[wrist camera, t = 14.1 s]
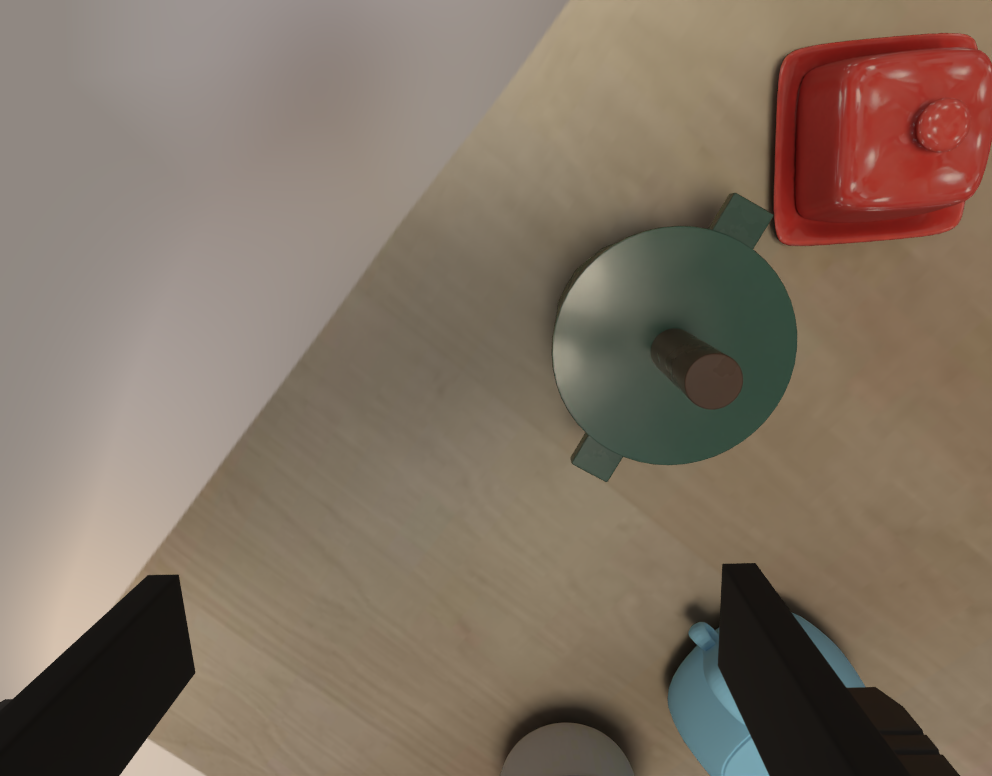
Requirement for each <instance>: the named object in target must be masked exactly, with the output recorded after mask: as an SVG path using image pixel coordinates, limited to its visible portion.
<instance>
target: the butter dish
mask: <svg viewBox="0 0 992 776" xmlns="http://www.w3.org/2000/svg"><path fill="white" fill-rule="evenodd" d="M991 142H992V63H991V61H990V59H989V58H988V56H987V55H986V54H985V53H983V52H982V51H980V50H978V48H977V45H976V42H975V40H974V39H973V38H971V37H970V36H968V35H966V34H958V33H952V34H949V33H938V34H921V35H908V36H893V37H883V38H871V39H863V40H852V41H844V42H835V43H828V44H820V45H815V46H810V47H805V48H801V49H798V50H795V51H793V52H791V53H790V54H788V55H787V56H786V57H785V58H784V60H783V62H782V65H781V68H780V72H779V80H778V93H777V114H776V143H775V173H774V176H775V178H774V209H773V211H774V221H775V230H776V234H777V237H778V239H779V241H780V242H782V243H783V244H786V245H789V246H814V245H830V244H843V243H855V242H871V241H882V240H894V239H903V238H913V237H922V236H929V235H934V234H940V233H943V232H947V231H949V230H951V229H953V228H954V227H955V226H956V225H958V223H959V222H960V220H961V217H962V214H963V210H964V205H965V201H966V200H967V199H969V198H970V197H971V196H972V195H973V194H974V193H975V191H976V190H977V188H978V187H979V185H980V183H981V180H982V177H983V174H984V171H985V168H986V164H987V160H988V156H989V152H990V147H991Z"/></svg>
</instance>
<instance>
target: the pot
mask: <svg viewBox="0 0 992 776" xmlns="http://www.w3.org/2000/svg"><path fill="white" fill-rule="evenodd" d="M773 216H774V215H773V214H772V213H770V212H768V211H766V210H765V209H763V208H761V207H759V206H758V205H756V204H754V203H753V202H751V201H749V200H747V199H746V198H744V197H742V196H740V195H739V194H737V193H732V194H729V195H728V197H727V199H726V200H725V202H724V204H723V205H722V207H721V209H720V210H719V212H718V214H717V215H716V217H715V219H714V220H713V222H712V224H711V225H710V227H709V229H711V230H714V231H717V232H720V233H724V234H726V235H729V236H731V237H733V238H735V239H737V240H739V241H741V242H742V243H744V244H745V245H747V246H748V247H750V248H751V249H753V248H754V247H755V245H756V243H757V242H758V240H759V239H760V237H761V235H762V234H763V232H764V231H765V229H766V227H767V226H768V224H769V223H770V221H771V219H772V218H773ZM612 245H613V244H612ZM612 245H609V246H606V247H604V248H602V249H601V250H600V251H599V252H597V253H596V254H595V255H593V256H592V257H590V258H589V259H588V260H587V261H586V262H585V263H584V264H583V265H581V266H580V267H579V268H578V269H577V270H576V271H575V272H574V274H573V276H572V278H571V279H570V281H569V282H568V284H567V285H566V288H565V290H564V292H563V294H562V296H561V297H560V299H559V302H558V309H557V314H558V311H559V308H560V306H561V303H562V301H563V299H564V297H565V295H566V293H567V291H568V290H569V288H570V287H571V285H572V283H573V282H574V280H575V279H576V278H577V276H578V275H579V274H580V273H581V272H582V270H583V269H584V268H585V267H586V266H587V265H588V264H589V263H590V262H591V261H592V260H593V259H594V258H596V257H597V256H598V255H599V254H600V253H602V252H603V251H605V250H606V249H607V248H609V247H610V246H612ZM556 317H557V315H556ZM622 458H623V456H621V455H619V454H616V453H614V452H612V451H610V450H608V449H607V448H605V447H604V446H602V445H600V444H599V443H598V442H596V441H595V440H594V439H593V438H591V437H590V436H589V435H588V434H587V433H585V434H584V436H583V438H582V439H581V441H580V443H579V444H578V446H577V448H576V449H575V451H574V453H573V454H572V456H571V463H572V464H573V465H575V466H577V467H579V468H581V469H582V470H584V471H586V472H588V473H590V474H592V475H594V476H596V477H598V478H599V479H601V480H603V481H605V482H608V480H609V478H610V477H611V475H612V474H613V472H614V470H615V469H616V467H617V466H618V464H619V462H620V461H621V459H622Z"/></svg>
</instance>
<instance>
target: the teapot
mask: <svg viewBox="0 0 992 776" xmlns="http://www.w3.org/2000/svg"><path fill="white" fill-rule="evenodd" d="M791 613H792V612H791ZM792 614H793V615H794V617H795V618H796V619H797V621H798V622H799V623H800V625H801V626H802V628H803V629H804V630H805V632H806V633H807V634H808V636H809V637H810V638H811V640H812V641H813V643H814V644H815V645H816V647H817V648H818V649H819V651H820V652H821V653H822V655H823V656H824V658H825V659H826V660H827V662H828V663H829V664H830V666H831V667H832V668H833V670H834V671H835V673H836V674H837V675H838V677H839V678H840V679H841V681H842V682H843V684H844V685H845V686H846V688H852V687H865V685H864V684H863V682H862V680H861V679H860V677H859V675H858V674H857V672H856V671H855V669H854V668H853V666H852V665H851V664H850V662H849V661H848V659H847V658H846V657H845V655H844V654H843V653H842V652H841V650H840V649H839V648H838V647H837V646H836V645H835V644H834V643H833V642H832V641H831V640H830V639H829V638H828V637H827V636H826V635H825V634H824V633H822V632H821V631H820V630H819V629H818V628H816V627H815V626H814V625H812V624H811V623H809V622H808V621H807V620H805V619H804V618H802V617H801V616H799V615H796V614H794V613H792ZM689 636H690V638H691V639H692V640H693V641H694V642H695V643H696V644H697V646H696V647H695V648H694V649H693V650H692V651H691V652H690V653H689V655H688V656H687V657H686V658H685V659H684V661H683V662H682V663H681V665H680V666H679V668H678V669H677V671H676V673H675V674H674V676H673V678H672V681H671V684H670V686H669V691H668V706H669V710H670V713H671V715H672V718H673V721H674V723H675V725H676V727H677V729H678V731H679V733H680V735H681V737H682V738H683V740H684V742H685V743H686V744H687V746H688V747H689V749H690V750H691V752H692V753H693V754H694V756H695V757H696V758H697V760H698V761H699V762H700V764H701V765H702V766H703V767H704V769H705V770H706V771H707V772H708V773H709V774H710V776H769V774H768V772H767V770H766V767H765V765H764V763H763V761H762V759H761V757H760V755H759V753H758V750H757V748H756V746H755V744H754V742H753V740H752V738H751V736H750V733H749V731H748V729H747V727H746V725H745V723H744V721H743V718H742V716H741V714H740V712H739V710H738V708H737V706H736V704H735V701H734V699H733V697H732V695H731V693H730V691H729V689H728V687H727V684H726V682H725V680H724V678H723V676H722V674H721V672H720V669H719V667H718V649H719V628H718V629H716V630H714V629H713V628H712V627H711V626H710V625H708V624H707V623H705V622H698V623H696V624H694V625H692V626H691V628H690V630H689Z"/></svg>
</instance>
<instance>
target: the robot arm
mask: <svg viewBox="0 0 992 776" xmlns="http://www.w3.org/2000/svg"><path fill="white" fill-rule="evenodd" d="M718 667H719V669H720V672H721V674H722V676H723V678H724V680H725V682H726V684H727V687H728V689H729V691H730V693H731V695H732V697H733V699H734V701H735V704H736V706H737V708H738V710H739V712H740V714H741V716H742V718H743V721H744V723H745V725H746V727H747V729H748V731H749V733H750V736H751V738H752V740H753V742H754V744H755V746H756V748H757V750H758V753H759V755H760V757H761V759H762V761H763V763H764V765H765V767H766V770H767V772H768V774H769V776H960V775H959V774H958V773H957V772H956V770H955V769H954V768H953V767H952V765H951V764H950V763H949V762H948V761H947V759H946V758H945V757H944V756H943V755H940V754H939V750H938V748H937V747H936V746H935V745H934V744H933V742H932V741H931V740H930V739H929V738H928V736H927V735H924V734H923V730H922V729H921V728H920V727H919V725H918V724H917V723H916V722H915V721H914V719H913V718H912V717H911V716H910V714H909V713H908V712H907V711H906V710H905V708H904V707H903V706H901V705H900V704H898V703H897V702H896V701H894V700H893V699H891V698H890V697H889V696H887V695H886V694H884V693H883V692H882V691H880V690H879V689H877V688H876V687H852V688H846V686H845V685H844V684H843V682H842V681H841V679H840V678H839V677H838V675H837V674H836V673H835V671H834V670H833V668H832V667H831V666H830V664H829V663H828V662H827V660H826V659H825V658H824V656H823V655H822V653H821V652H820V651H819V649H818V648H817V647H816V645H815V644H814V643H813V641H812V640H811V638H810V637H809V636H808V634H807V633H806V632H805V630H804V629H803V628H802V626H801V625H800V623H799V622H798V621H797V619H796V618H795V617H794V615H793V614H792V613H791V611H790V610H789V608H788V607H787V606H786V604H785V603H784V602H783V600H782V599H781V598H780V596H779V595H778V593H777V592H776V591H775V589H774V588H773V587H772V585H771V584H770V582H769V581H768V580H767V578H766V577H765V576H764V574H763V573H762V572H761V570H760V569H759V567H758V566H757V565H756V563H742V564H722V585H721V606H720V627H719V649H718ZM194 674H195V668H194V662H193V656H192V650H191V644H190V638H189V633H188V627H187V621H186V615H185V609H184V603H183V597H182V592H181V586H180V580H179V575H148V576H147V577H146V578H144V579H143V580H142V581H141V582H140V583H139V584H138V585H137V586H136V587H135V588H134V589H132V590H131V591H130V592H129V593H128V594H127V595H126V596H125V597H124V598H123V599H122V600H120V601H119V602H118V603H117V604H116V605H115V606H114V607H113V608H112V609H111V610H110V611H109V612H107V613H106V614H105V615H104V616H103V617H102V618H101V619H100V620H99V621H98V622H97V623H95V624H94V625H93V626H92V627H91V628H90V629H89V630H88V631H87V632H86V633H84V634H83V635H82V636H81V637H80V638H79V639H78V640H77V641H76V642H75V643H73V644H72V645H71V646H70V647H69V648H68V649H67V650H66V651H65V652H64V653H63V654H62V655H60V656H59V657H58V658H57V659H56V660H55V661H54V662H53V663H52V664H51V665H50V666H48V667H47V668H46V669H45V670H44V671H43V672H42V673H41V674H40V675H39V676H37V677H36V678H35V679H34V680H33V681H32V682H31V683H30V684H29V685H28V686H27V687H25V688H24V689H23V690H22V691H21V692H20V693H19V694H18V695H17V696H16V697H15V698H14V699H7V700H6V699H5V700H3V701H2V702H0V776H119V775H120V774H121V773H122V771H123V770H124V769H125V767H126V766H127V765H128V763H129V762H130V760H131V759H132V758H133V756H134V755H135V754H136V752H137V751H138V750H139V748H140V747H141V746H142V744H143V743H144V741H145V740H146V739H147V737H148V736H149V735H150V733H151V732H152V731H153V729H154V728H155V727H156V725H157V724H158V723H159V721H160V720H161V719H162V717H163V716H164V714H165V713H166V712H167V710H168V709H169V708H170V706H171V705H172V704H173V702H174V701H175V700H176V698H177V697H178V695H179V694H180V693H181V691H182V690H183V689H184V687H185V686H186V685H187V683H188V682H189V681H190V679H191V678H192V677H193V675H194Z"/></svg>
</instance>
